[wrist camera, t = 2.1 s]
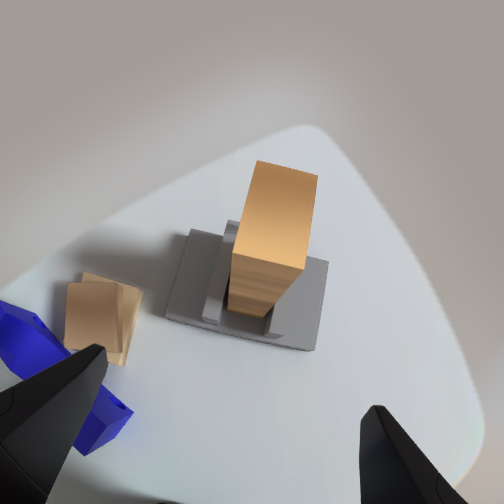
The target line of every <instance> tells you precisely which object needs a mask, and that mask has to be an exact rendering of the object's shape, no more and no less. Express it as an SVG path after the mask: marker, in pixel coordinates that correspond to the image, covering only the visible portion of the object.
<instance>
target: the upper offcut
mask: <svg viewBox="0 0 504 504" xmlns="http://www.w3.org/2000/svg"><path fill="white" fill-rule="evenodd" d="M94 343H96V344H99V345H102V346H104V347H105V348H106V352H115V353H123V288H122V287H121V286H120V285H118V284H117V283H116V282H90V283H68V284H67V296H66V313H65V349H72V350H82V349H84V348H86V347H87V346H89V345H91V344H94Z"/></svg>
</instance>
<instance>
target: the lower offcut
mask: <svg viewBox="0 0 504 504" xmlns="http://www.w3.org/2000/svg"><path fill="white" fill-rule="evenodd" d="M90 282H116V281H113V280H110V279H107V278H104V277H100V276H97V275H94V274H91V273H88V272H85V271H84V274H83V277H82V280H81V283H90ZM116 283H117V284H118V285H120V286H121V287H122V288H123V353H115V352H107V360H108V362H110V363H112V364H115V365H118V366H124V365H125V361H126V357H127V353H128V349H129V345H130V342H131V338H132V334H133V330H134V327H135V323H136V320H137V316H138V313H139V309H140V306H141V302H142V299H143V296H144V292H143V291H142V290H141V289H140V288H136V287H133V286H130V285H126V284H123V283H120V282H116ZM63 344H65V336H64V340H63ZM79 351H80V350H79Z"/></svg>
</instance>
